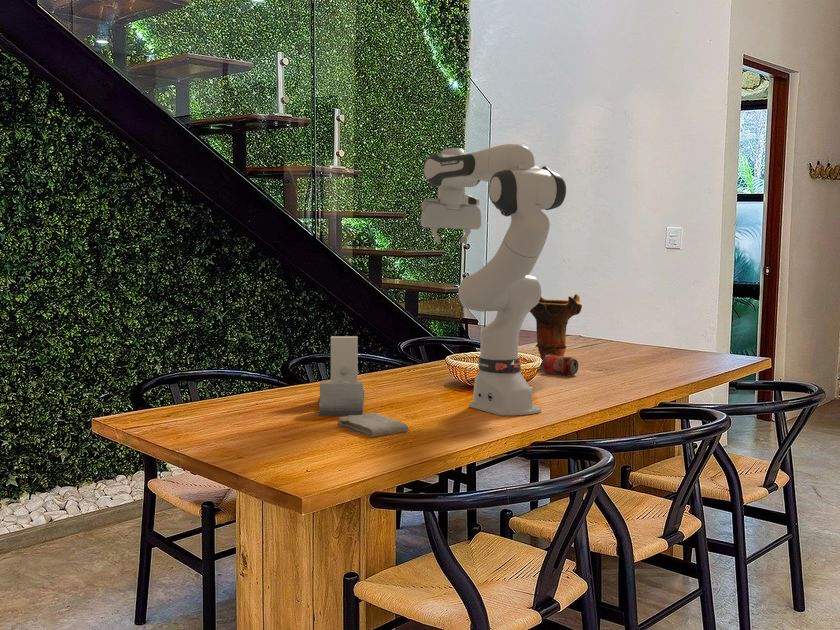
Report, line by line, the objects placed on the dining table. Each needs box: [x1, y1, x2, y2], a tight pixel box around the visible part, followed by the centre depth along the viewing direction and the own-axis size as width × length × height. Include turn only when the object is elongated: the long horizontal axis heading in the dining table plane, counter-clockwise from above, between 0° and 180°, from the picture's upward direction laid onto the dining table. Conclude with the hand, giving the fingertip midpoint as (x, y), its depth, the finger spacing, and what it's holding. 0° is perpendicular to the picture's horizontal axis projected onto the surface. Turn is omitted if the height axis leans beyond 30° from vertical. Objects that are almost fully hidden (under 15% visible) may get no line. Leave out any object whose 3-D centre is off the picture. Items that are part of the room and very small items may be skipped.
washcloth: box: [337, 412, 410, 438], centre depth 233 cm, size 12×18×3 cm, turn 38°
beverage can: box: [541, 355, 579, 376], centre depth 319 cm, size 7×12×7 cm, turn 49°
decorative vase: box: [529, 293, 583, 360], centre depth 350 cm, size 21×23×28 cm
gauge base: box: [318, 380, 365, 417], centre depth 262 cm, size 30×12×8 cm, turn 3°
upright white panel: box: [330, 335, 359, 381], centre depth 269 cm, size 8×10×17 cm
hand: (450, 242), depth 287 cm, fingers open, 8 cm apart
